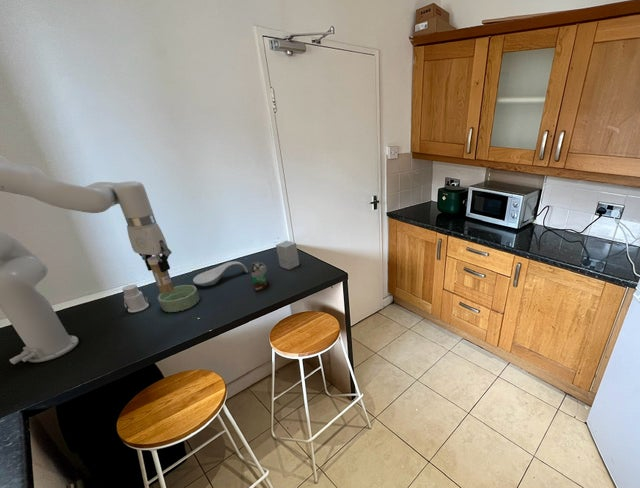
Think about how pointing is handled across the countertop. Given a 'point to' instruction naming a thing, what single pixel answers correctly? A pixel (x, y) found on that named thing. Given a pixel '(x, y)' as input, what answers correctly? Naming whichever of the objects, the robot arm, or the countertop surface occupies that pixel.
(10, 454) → the countertop surface
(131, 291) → the downlight
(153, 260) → the sprinkles bottle
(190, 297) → the bowl
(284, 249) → the white packaging box
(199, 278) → the spoon rest
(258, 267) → the figurine
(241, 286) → the countertop surface
